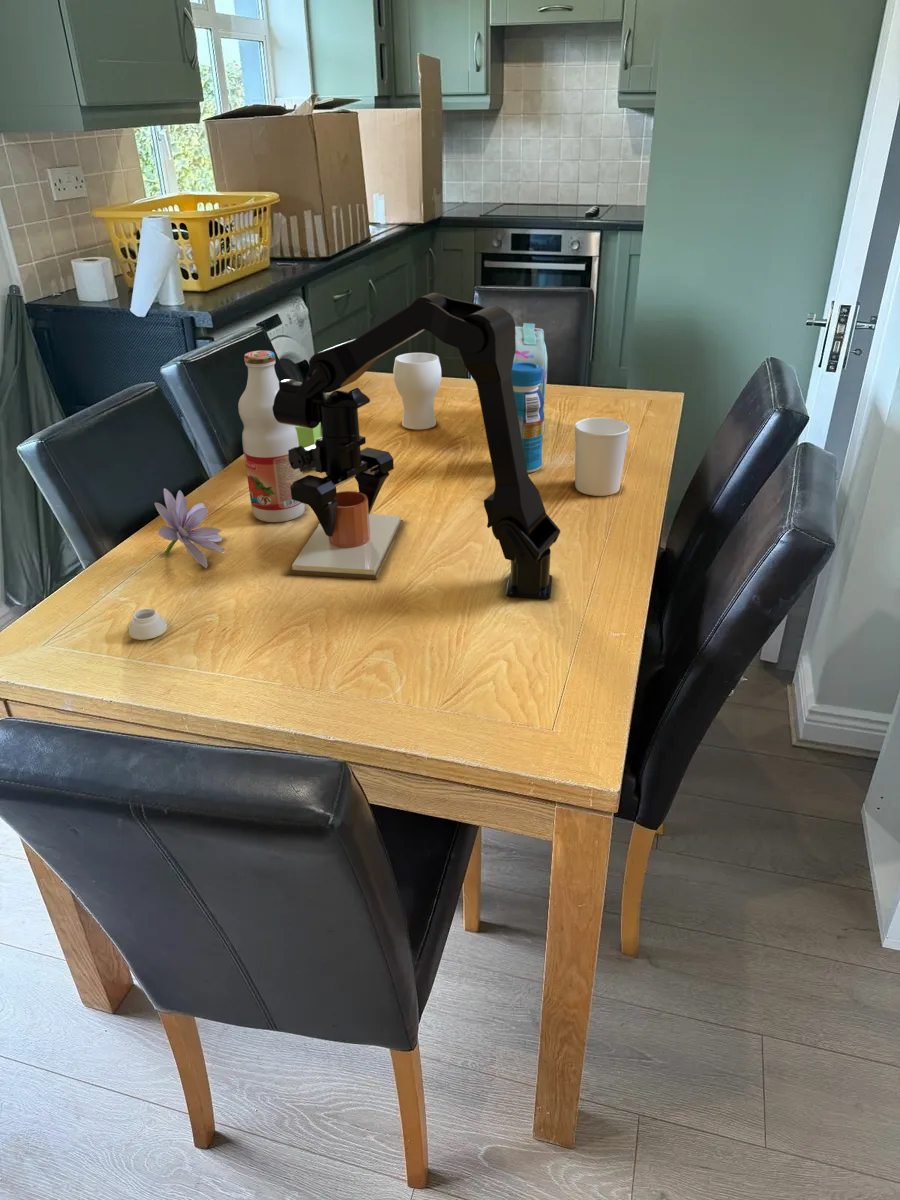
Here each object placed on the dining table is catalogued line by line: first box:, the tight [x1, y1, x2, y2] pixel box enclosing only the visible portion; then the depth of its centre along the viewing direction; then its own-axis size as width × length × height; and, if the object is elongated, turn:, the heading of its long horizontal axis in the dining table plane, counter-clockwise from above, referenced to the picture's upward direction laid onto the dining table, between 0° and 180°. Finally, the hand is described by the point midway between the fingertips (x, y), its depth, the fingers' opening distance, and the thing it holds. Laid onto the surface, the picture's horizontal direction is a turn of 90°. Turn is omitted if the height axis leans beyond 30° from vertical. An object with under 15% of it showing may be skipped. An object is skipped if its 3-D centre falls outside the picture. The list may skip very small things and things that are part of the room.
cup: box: [392, 352, 442, 430], centre depth 188 cm, size 11×11×15 cm
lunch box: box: [513, 322, 548, 434], centre depth 184 cm, size 27×10×21 cm, turn 178°
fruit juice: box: [237, 350, 306, 523], centre depth 143 cm, size 9×9×28 cm
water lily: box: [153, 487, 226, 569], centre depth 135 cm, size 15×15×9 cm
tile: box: [289, 513, 404, 580], centre depth 137 cm, size 21×14×2 cm, turn 171°
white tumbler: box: [574, 416, 631, 497], centre depth 155 cm, size 10×10×12 cm
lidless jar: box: [128, 607, 168, 641], centre depth 115 cm, size 5×3×5 cm
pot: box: [328, 490, 370, 548], centre depth 135 cm, size 7×7×7 cm
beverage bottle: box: [511, 362, 545, 474], centre depth 163 cm, size 8×8×20 cm
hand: (348, 525), depth 136 cm, fingers open, 9 cm apart
